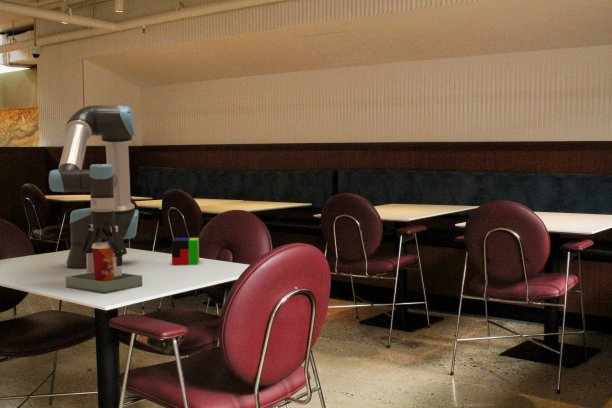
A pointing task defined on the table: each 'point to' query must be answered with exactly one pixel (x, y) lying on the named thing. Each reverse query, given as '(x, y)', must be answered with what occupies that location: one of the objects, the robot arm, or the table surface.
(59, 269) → the table surface
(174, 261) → the puzzle toy
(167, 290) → the table surface
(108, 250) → the paper cup
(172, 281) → the table surface
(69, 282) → the tray
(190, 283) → the table surface
